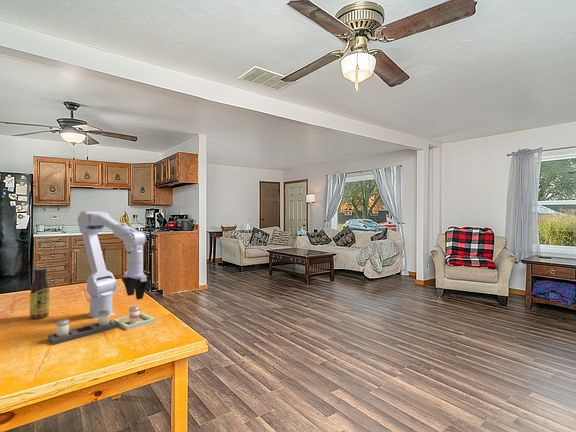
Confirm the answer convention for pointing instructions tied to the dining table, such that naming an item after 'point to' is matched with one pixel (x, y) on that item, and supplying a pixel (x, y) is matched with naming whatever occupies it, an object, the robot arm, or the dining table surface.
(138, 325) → the tray
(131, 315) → the fuse marked
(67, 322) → the fuse
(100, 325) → the fuse
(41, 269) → the sauce bottle
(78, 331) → the fuse block
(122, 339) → the dining table surface
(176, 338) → the dining table surface
